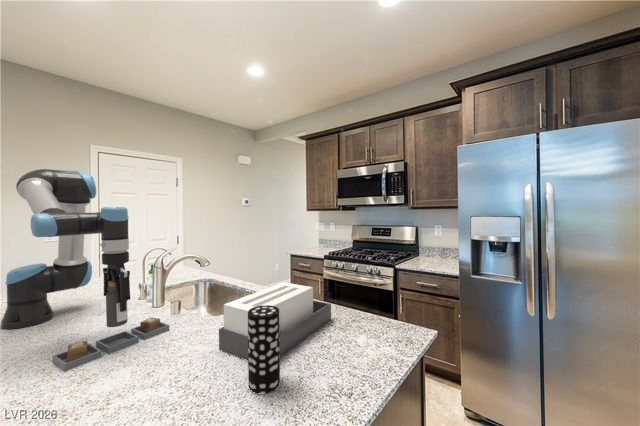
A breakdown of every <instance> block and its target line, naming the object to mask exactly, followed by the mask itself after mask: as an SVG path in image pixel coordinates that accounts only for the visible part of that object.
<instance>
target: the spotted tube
mask: <svg viewBox="0 0 640 426" xmlns="http://www.w3.org/2000/svg"><path fill="white" fill-rule="evenodd" d="M280 361H281V358H280V332H279V308H278V307H275V306H270V305H264V306H257V307H254V308H251V309H250V310H249V311H248V361H247V363H248V366H247V367H248V368H247V369H248V371H247V372H248V373H247V374H248V377H247V378H248V389H249V388H250V389H249V391H250V390H252V391H253V392H255V393H254V394H256V393H267V394H269V393H268V392H270V393H272V392H271V391H273V390H274V391H276V390H277V389H278V388H279V387H278V386H280V385H279V384H281V370H280V369H281V367H280V366H281V362H280ZM277 387H278V388H277ZM276 388H277V389H276ZM275 389H276V390H275ZM274 391H273V392H274ZM253 392H252V393H253Z"/></svg>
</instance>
